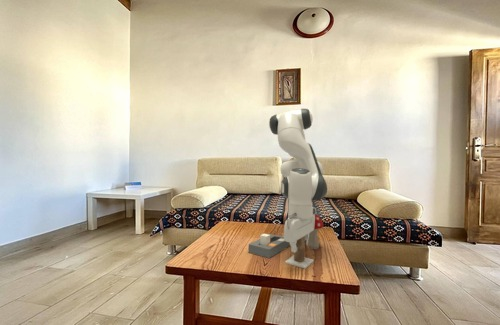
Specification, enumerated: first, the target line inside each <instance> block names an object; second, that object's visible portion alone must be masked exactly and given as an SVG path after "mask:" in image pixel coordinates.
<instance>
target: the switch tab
mask: <svg viewBox="0 0 500 325" xmlns="http://www.w3.org/2000/svg"><path fill="white" fill-rule="evenodd" d="M268 244H270V234H268V233H261V234H260V245H262V246H267V245H268Z"/></svg>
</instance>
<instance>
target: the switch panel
mask: <svg viewBox="0 0 500 325" xmlns="http://www.w3.org/2000/svg"><path fill="white" fill-rule="evenodd" d="M269 235H270V244H268V245H267V246H262V245H260V239H259V238H258V239H256V240H254V241H252V242H249V243H248V253H249V254H253V255H256V256H259V257H263V258H267V259H270V258H272V257H275V256H276V255H277V254H279V253H280V252H282V251H283V250H285V249H287V248H289V247H291V245H290V242H286V241H285V240H284V235H283V236H282V235H278V234H273V233H270V234H269Z"/></svg>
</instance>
